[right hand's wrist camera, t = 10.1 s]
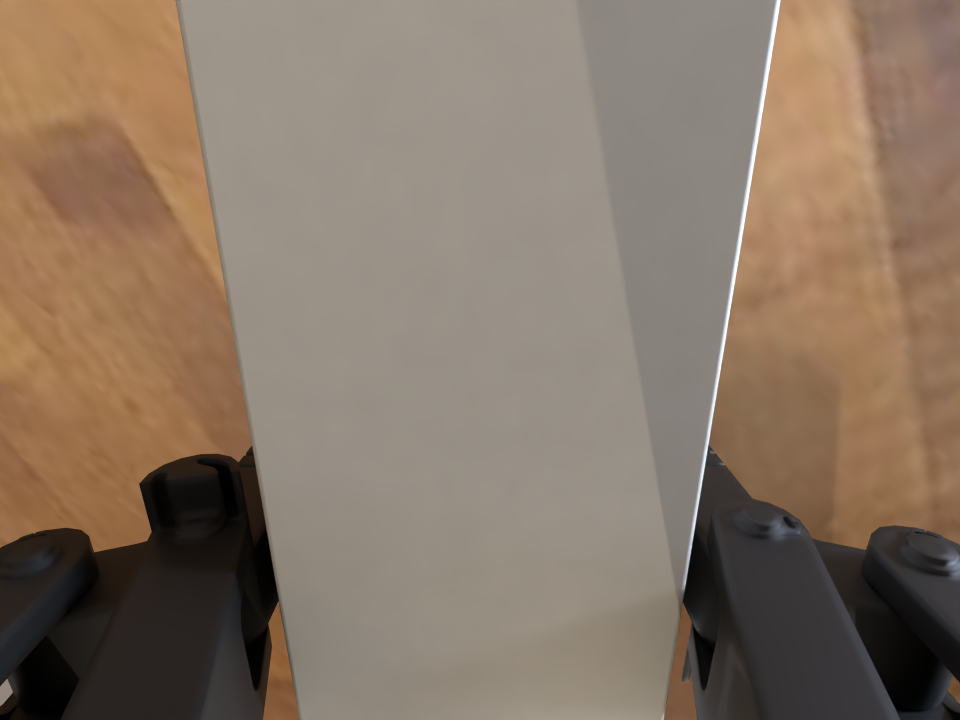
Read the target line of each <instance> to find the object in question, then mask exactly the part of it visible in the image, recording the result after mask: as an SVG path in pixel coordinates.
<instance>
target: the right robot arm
mask: <svg viewBox="0 0 960 720" xmlns="http://www.w3.org/2000/svg"><path fill="white" fill-rule="evenodd" d="M139 485H140V489H141V492H142V496H143V500H144V504H145V508H146V511H147V515H148V519H149V523H150V527H151V530H152V533H151V535H150V537H149V539H148V541H146V542H142V543H138V544H134V545H129V546H124V547H119V548H114V549H109V550H104V551H99V552H94V551H93V548H92V544H91V541H90V538H89V536H88V535H87V534H85V533H84V532H83V531H82V530H78V529H70V528H61V529H53V530H44V531H40V532H36V533H35V534H33V533H32V534H29V535H26V536H23V537H21V538H19V539H18V540H16V541H14V542H12V543H9V544H7V545H5V546H3V547H1V548H0V686H1V685H2V684H3V683H4V681H5V680H6V679H8V681H9V683H10V686H11V688H12V690H13V693H12V695H11V696H10V697H9V698H8V699H7V700H6V701H5V703H4V704H3V705H1V706H0V720H263V714H264V706H265V698H266V690H267V682H268V674H269V666H270V658H271V650H272V643H271V636H270V630H269V625H268V622H269V620H270V618H271V616H272V614H273V612H274V609H275V607H276V605H277V603H278V601H279V598H278V592H277V586H276V581H275V575H274V569H273V563H272V557H271V552H270V546H269V540H268V534H267V528H266V523H265V517H264V511H263V505H262V499H261V493H260V488H259V482H258V476H257V470H256V464H255V459H254V453H253V447H251V448H250V449H249V450H248V451H247V453H246V456H243V458H242V459H241V460H240V461H239V462H237V461H236V460H235V459H233V458H232V457H230V456H225V455H221V454H200V455H195V456H190V457H185V458H181V459H178V460H176V461H173V462H170V463H168V464H165V465H163V466H161V467H159V468H158V469H156V470H154V471H153V472H151V473H149V474H148V475H147V476H146V477H145V478H144V479H143V480H142V481H141V482H140V484H139ZM683 603H684V605H685V607H686V609H687V612H688V614H689V616H690V618H691V620H692V625H691V630H690V636H689V641H688V647H687V652H686V658H685V663H684V668H683V675H682V681H684V682H688V683H689V680H690V675H691V673H692V681H693V689H694V697H695V705H696V713H697V720H960V704H959V703H958V702H957V701H956V700H955V699H954V697H953V696H952V695H951V694H950V693H949V692H948V690H947V689H948V687H949V685H950V682H951V680H952V678H953V676H954V677H955V678H956V679H957V680H958V681H959V682H960V545H959V544H957V543H955V542H952V541H950V540H948V539H946V538H944V537H942V536H941V535H939V534H936V533H933V532H930V531H925V530H923V529H918V528H913V527H904V526H895V525H894V526H886V527H879V528H878V529H877V530H876V531H874V532H873V533H872V534H871V537H870V540H869V543H868V546H867V549H866V550H863V549H858V548H853V547H848V546H843V545H838V544H833V543H828V542H823V541H819V540H815V539H812V538H811V536H810V534H809V532H808V530H807V529H806V528H805V526H804V525H803V524H802V523H801V521H800V520H799V519H797V518H796V517H794V516H793V515H791V514H790V513H789V512H787V511H786V510H784V509H781V508H779V507H777V506H774V505H772V504H770V503H767V502H763V501H759V500H754V499H752V498H751V497H750V495H749V494H748V493H747V492H746V490H745V489H744V488H743V487H742V485H741V484H740V483H739V482H738V481H737V479H736V478H735V477H734V476H733V474H732V473H731V472H730V471H729V469H728V468H727V467H726V466H723V462H722V461H721V459H720V458H719V457H718V456H717V455H716V454H714V451H713V450H712V448H711V447H710V446H709V445H708V449H707V456H706V462H705V468H704V474H703V480H702V486H701V493H700V499H699V505H698V511H697V517H696V523H695V530H694V536H693V542H692V548H691V554H690V560H689V566H688V573H687V579H686V585H685V591H684V597H683ZM279 605H280V604H279ZM280 611H281V610H280ZM281 617H282V616H281ZM282 623H283V621H282Z"/></svg>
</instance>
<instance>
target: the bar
mask: <svg viewBox="0 0 960 720" xmlns="http://www.w3.org/2000/svg"><path fill="white" fill-rule="evenodd" d="M176 5H177V11H178V17H179V23H180V29H181V34H182V40H183V46H184V52H185V58H186V64H187V69H188V75H189V81H190V87H191V93H192V98H193V104H194V110H195V116H196V122H197V127H198V133H199V139H200V145H201V151H202V156H203V162H204V168H205V174H206V180H207V186H208V191H209V197H210V203H211V209H212V215H213V220H214V226H215V232H216V238H217V244H218V249H219V255H220V261H221V267H222V273H223V279H224V284H225V290H226V296H227V302H228V308H229V313H230V319H231V325H232V331H233V337H234V342H235V348H236V354H237V360H238V366H239V371H240V377H241V383H242V389H243V395H244V401H245V406H246V412H247V418H248V424H249V430H250V435H251V441H252V447H253V453H254V459H255V464H256V470H257V476H258V482H259V488H260V493H261V499H262V505H263V511H264V517H265V523H266V528H267V534H268V540H269V546H270V552H271V557H272V563H273V569H274V575H275V581H276V586H277V592H278V598H279V604H280V610H281V616H282V621H283V627H284V633H285V639H286V645H287V650H288V656H289V662H290V668H291V674H292V679H293V685H294V691H295V697H296V703H297V708H298V714H299V720H664V714H665V708H666V702H667V696H668V690H669V684H670V677H671V671H672V665H673V659H674V653H675V647H676V640H677V634H678V628H679V622H680V616H681V610H682V603H683V597H684V591H685V585H686V579H687V573H688V566H689V560H690V554H691V548H692V542H693V536H694V530H695V523H696V517H697V511H698V505H699V499H700V493H701V486H702V480H703V474H704V468H705V462H706V456H707V449H708V443H709V437H710V431H711V425H712V419H713V413H714V406H715V400H716V394H717V388H718V382H719V376H720V369H721V363H722V357H723V351H724V345H725V339H726V332H727V326H728V320H729V314H730V308H731V302H732V296H733V289H734V283H735V277H736V271H737V265H738V259H739V252H740V246H741V240H742V234H743V228H744V222H745V215H746V209H747V203H748V197H749V191H750V185H751V178H752V172H753V166H754V160H755V154H756V148H757V142H758V135H759V129H760V123H761V117H762V111H763V105H764V98H765V92H766V86H767V80H768V74H769V68H770V61H771V55H772V49H773V43H774V37H775V31H776V25H777V18H778V12H779V6H780V0H176Z"/></svg>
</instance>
